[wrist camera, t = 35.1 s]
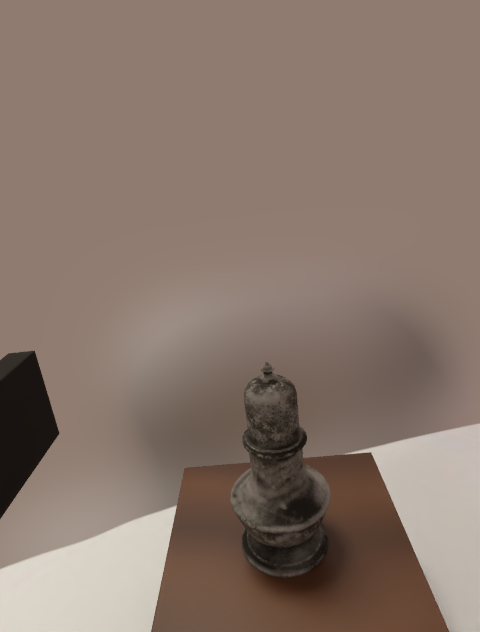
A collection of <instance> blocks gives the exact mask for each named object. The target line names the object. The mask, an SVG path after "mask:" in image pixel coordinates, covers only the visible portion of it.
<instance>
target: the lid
mask: <svg viewBox="0 0 480 632" xmlns="http://www.w3.org/2000/svg"><path fill="white" fill-rule="evenodd" d="M303 464H306V465H308V466H310V467H312V468H314V469H315V470H317V471H318V472H319V473H320V474H321V475H322V476H323V477H324V478H325V480H326V481H327V483H328V484H329V488H330V493H331V498H330V505H329V507H328V509H327V511H326V512H325V516H324V518H323V520H322V523H323V525H324V527H325V529H326V531H327V536H328V547H327V552H326V554H325V556H324V558H323V560H322V561H321V562H320V563H319V564H318V565H317V566H316V567H315V568H314V569H312V570H310V571H309V572H307V573H305V574H302V575H299V576H295V577H285V578H280V577H275V576H270V575H267V574H265V573H263V572H261V571H258V570H257V569H256V568H255V567H254V566H252V565H251V564H250V563H249V561H248V560H247V558H246V557H245V555H244V551H243V548H242V535H243V532H244V529H245V527H244V525H243V524H242V523H241V521H240V520H239V518H238V517H237V515H236V514H235V513H234V511H233V508H232V505H231V501H230V499H231V490H232V488H233V486H234V484H235V482H236V481H237V479H238V478H239V477H240V476H241V475H242V474H243V473H244V472H246V471H247V470H249V469H250V468H251V463H241V464H227V465H215V466H203V467H191V468H185V469H184V474H183V479H182V485H181V489H180V494H179V499H178V504H177V509H176V513H175V518H174V523H173V528H172V533H171V538H170V543H169V548H168V553H167V557H166V562H165V567H164V572H163V577H162V582H161V587H160V592H159V597H158V601H157V606H156V611H155V616H154V621H153V626H152V631H151V632H449V630H448V628H447V626H446V623H445V621H444V619H443V617H442V614H441V612H440V610H439V607H438V605H437V603H436V601H435V598H434V596H433V594H432V591H431V589H430V587H429V584H428V582H427V580H426V578H425V575H424V573H423V571H422V568H421V566H420V564H419V562H418V559H417V557H416V555H415V552H414V550H413V548H412V545H411V543H410V541H409V539H408V536H407V534H406V532H405V529H404V527H403V525H402V522H401V520H400V518H399V516H398V513H397V511H396V509H395V506H394V504H393V502H392V500H391V497H390V495H389V493H388V490H387V488H386V486H385V483H384V481H383V479H382V477H381V474H380V472H379V470H378V467H377V465H376V463H375V461H374V458H373V456H372V454H371V453H359V454H347V455H335V456H323V457H311V458H303Z"/></svg>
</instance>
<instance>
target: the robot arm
mask: <svg viewBox="0 0 480 632" xmlns="http://www.w3.org/2000/svg"><path fill="white" fill-rule="evenodd" d="M58 435H59V431H58V428H57V424H56V421H55V417H54V414H53V411H52V407H51V404H50V401H49V397H48V394H47V391H46V387H45V384H44V381H43V377H42V374H41V371H40V367H39V364H38V360H37V357H36V354H35V351H29V352H19V353H10V354H7V355H6V356H5V357H4V358H2V359H1V360H0V518H1V517H2V516H3V514H4V513H5V511H6V510H7V508H8V507H9V506H10V504H11V502H12V501H13V499H14V498H15V497H16V495H17V494H18V492H19V491H20V490H21V488H22V487H23V485H24V484H25V482H26V481H27V479H28V478H29V477H30V475H31V474H32V472H33V471H34V469H35V468H36V466H37V465H38V463H39V462H40V461H41V459H42V458H43V456H44V455H45V453H46V452H47V450H48V449H49V448H50V446H51V445H52V443H53V442H54V440H55V439H56V438H57V436H58Z"/></svg>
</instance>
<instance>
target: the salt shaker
mask: <svg viewBox="0 0 480 632" xmlns="http://www.w3.org/2000/svg"><path fill="white" fill-rule="evenodd" d="M273 370H274V368H273V367H272V366H271V365H270V364H269V363H268V362H266V363H265V365H264V366H263V368H262V369H261V371H262V372H264V374H263V375H261V376H258V377H256V378H255V379H253V380H251V381H250V382H249V383H248V385H247V386H246V388H245V390H244V403H245V411H246V419H247V427H248V429H247V430H246V431H245V433H244V435H243V439H242V442H243V445H244V447H245V449H246V450H247V451H248V452H249V454H250V463H251V468H250V469H249V470H247V471H246V472H244V473H243V474H242V475H241V476H240V477H239V478H238V479H237V481H236V482H235V484H234V486H233V488H232V490H231V499H230V501H231V505H232V508H233V511H234V513H235V514H236V515H237V517H238V518H239V520H240V521H241V523H242V524H243V525H244V527H245V529H244V532H243V535H242V548H243V551H244V555H245V557H246V558H247V560H248V561H249V563H250V564H251V565H252V566H254V567H255V568H256V569H257V570H258V571H261V572H263V573H265V574H267V575H270V576H275V577H280V578H285V577H295V576H299V575H302V574H305V573H307V572H309V571H310V570H312V569H314V568H315V567H316V566H317V565H318V564H319V563H320V562H321V561H322V560H323V558H324V556H325V554H326V552H327V547H328V536H327V531H326V529H325V527H324V525H323V523H322V520H323V518H324V516H325V512H326V511H327V509H328V507H329V505H330V498H331V493H330V488H329V484H328V483H327V481H326V480H325V478H324V477H323V476H322V475H321V474H320V473H319V472H318V471H317V470H315V469H314V468H312V467H310V466H308V465H306V464H303V452H302V448H303V447H304V445H305V444H306V441H307V435H306V432H305V430H304V429H303V428H302V427H301V426H300V425H299V418H298V405H297V393H296V389H295V386H294V385H293V383H292V382H291V381H290V380H289V379H287V378H286V377H283V376H280V375H276V374H273V373H272V371H273Z"/></svg>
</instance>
